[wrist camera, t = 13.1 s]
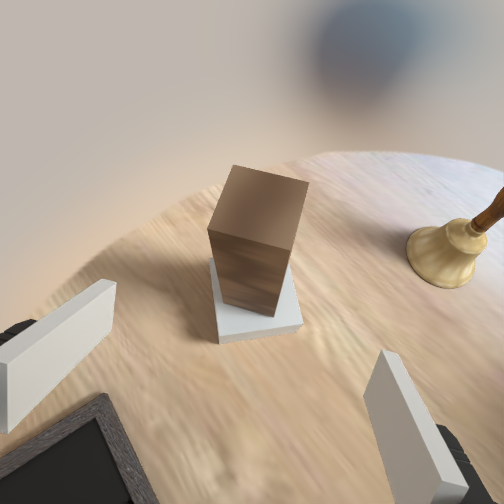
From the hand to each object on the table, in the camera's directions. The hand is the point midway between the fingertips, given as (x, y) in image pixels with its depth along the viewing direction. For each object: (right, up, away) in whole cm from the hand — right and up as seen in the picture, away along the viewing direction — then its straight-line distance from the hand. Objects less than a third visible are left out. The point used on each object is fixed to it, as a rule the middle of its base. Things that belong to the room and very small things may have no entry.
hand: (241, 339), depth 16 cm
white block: (0, -1, +20) cm, 20 cm away
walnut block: (+1, +1, +17) cm, 17 cm away
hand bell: (+23, +4, +25) cm, 34 cm away
